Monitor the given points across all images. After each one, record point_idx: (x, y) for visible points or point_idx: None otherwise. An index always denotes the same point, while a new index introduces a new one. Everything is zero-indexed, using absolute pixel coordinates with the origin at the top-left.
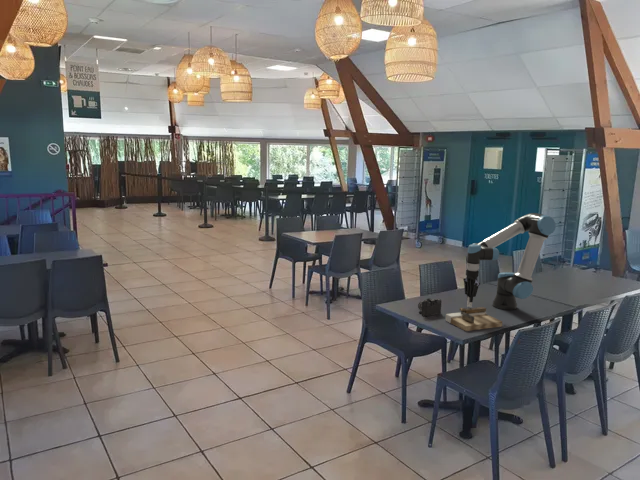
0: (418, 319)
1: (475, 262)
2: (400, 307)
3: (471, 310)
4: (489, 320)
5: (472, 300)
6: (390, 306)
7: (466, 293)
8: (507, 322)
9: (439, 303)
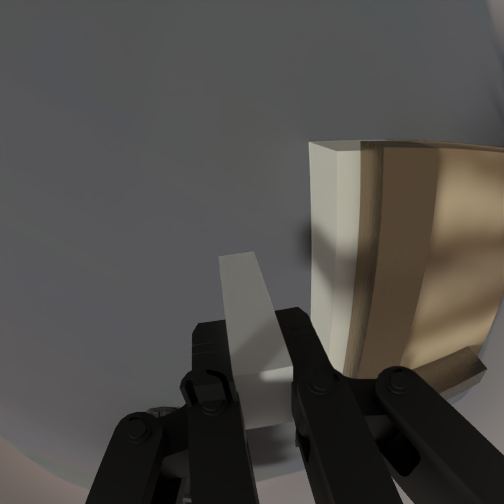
0: (255, 476)
1: None
2: (93, 474)
3: (403, 342)
4: (499, 232)
5: (313, 331)
6: (88, 484)
7: (184, 467)
8: (471, 40)
9: (187, 480)
